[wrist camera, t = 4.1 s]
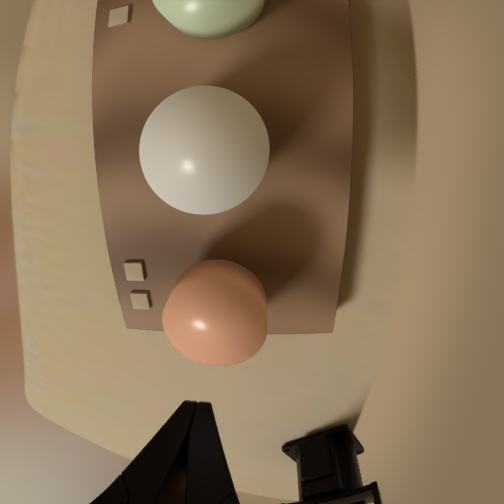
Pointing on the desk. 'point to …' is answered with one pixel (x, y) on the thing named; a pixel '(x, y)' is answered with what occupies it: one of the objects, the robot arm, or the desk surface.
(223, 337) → the terracotta button
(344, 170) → the console
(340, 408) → the desk surface
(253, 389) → the desk surface
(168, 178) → the grey button
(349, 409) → the desk surface
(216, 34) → the sage button
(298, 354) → the desk surface
